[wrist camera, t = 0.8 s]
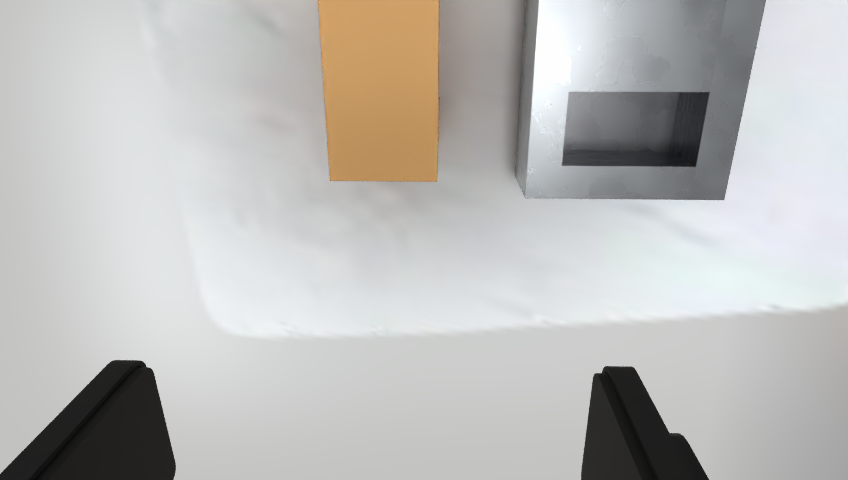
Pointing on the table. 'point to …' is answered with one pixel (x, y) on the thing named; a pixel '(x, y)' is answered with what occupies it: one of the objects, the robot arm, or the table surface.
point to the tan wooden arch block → (381, 88)
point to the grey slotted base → (633, 97)
